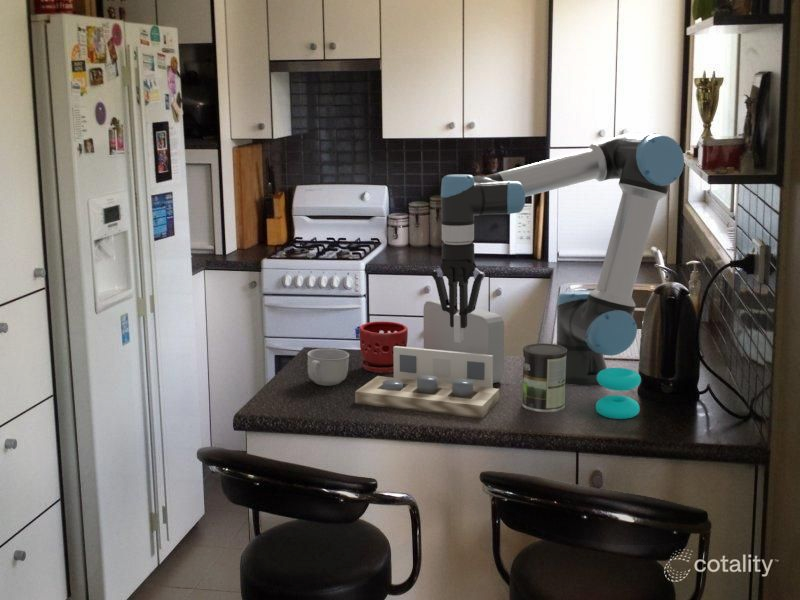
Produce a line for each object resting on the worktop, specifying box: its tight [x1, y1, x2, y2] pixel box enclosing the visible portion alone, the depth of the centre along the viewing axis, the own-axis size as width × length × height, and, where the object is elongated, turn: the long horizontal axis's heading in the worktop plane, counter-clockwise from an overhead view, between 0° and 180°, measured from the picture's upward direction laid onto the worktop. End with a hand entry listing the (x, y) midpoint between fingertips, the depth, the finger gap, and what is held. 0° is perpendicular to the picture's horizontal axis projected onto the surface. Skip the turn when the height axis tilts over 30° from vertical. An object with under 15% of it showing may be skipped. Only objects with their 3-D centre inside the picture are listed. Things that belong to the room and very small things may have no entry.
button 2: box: [452, 379, 473, 397], centre depth 230 cm, size 5×5×3 cm
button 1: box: [383, 380, 403, 391], centre depth 237 cm, size 5×5×3 cm
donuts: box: [595, 367, 642, 420], centre depth 224 cm, size 10×10×10 cm
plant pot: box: [358, 320, 409, 374], centre depth 261 cm, size 13×13×12 cm
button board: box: [354, 375, 500, 419], centre depth 234 cm, size 32×14×3 cm, turn 68°
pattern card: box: [393, 346, 494, 388], centre depth 243 cm, size 26×5×10 cm, turn 68°
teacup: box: [306, 348, 350, 387], centre depth 249 cm, size 14×11×8 cm
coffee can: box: [521, 342, 567, 413], centre depth 229 cm, size 10×10×14 cm
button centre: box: [417, 375, 438, 393], centre depth 233 cm, size 5×5×3 cm
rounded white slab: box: [422, 299, 505, 384], centre depth 257 cm, size 29×8×18 cm, turn 33°
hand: (458, 340), depth 228 cm, fingers closed
